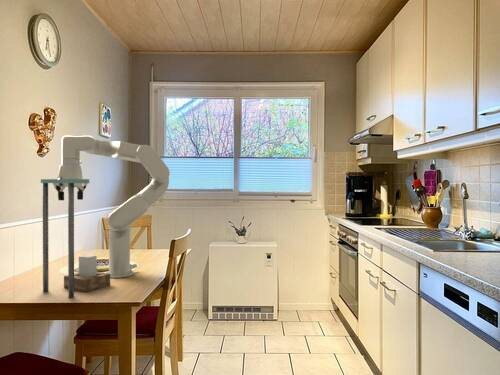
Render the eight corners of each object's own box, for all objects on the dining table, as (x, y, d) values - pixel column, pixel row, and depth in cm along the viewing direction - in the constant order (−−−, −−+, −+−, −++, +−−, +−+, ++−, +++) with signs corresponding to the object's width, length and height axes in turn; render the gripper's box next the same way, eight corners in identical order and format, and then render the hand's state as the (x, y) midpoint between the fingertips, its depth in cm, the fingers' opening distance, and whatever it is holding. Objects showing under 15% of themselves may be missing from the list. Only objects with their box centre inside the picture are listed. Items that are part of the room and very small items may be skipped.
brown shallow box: (88, 281, 168) (88, 270, 168) (110, 285, 161) (110, 273, 161) (63, 287, 157) (63, 276, 157) (86, 292, 151) (86, 280, 151)
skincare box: (97, 283, 161) (97, 255, 160) (89, 286, 157) (89, 257, 156) (85, 282, 163) (85, 254, 162) (78, 284, 159) (78, 256, 158)
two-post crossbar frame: (59, 286, 159) (59, 179, 158) (89, 293, 150) (89, 179, 149) (41, 291, 152) (40, 179, 151) (71, 298, 143) (71, 179, 142)
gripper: (81, 164, 183) (81, 199, 183) (47, 162, 167) (48, 200, 168) (92, 163, 179) (92, 199, 179) (58, 161, 164) (58, 200, 164)
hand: (70, 199), depth 173 cm, fingers open, 9 cm apart
